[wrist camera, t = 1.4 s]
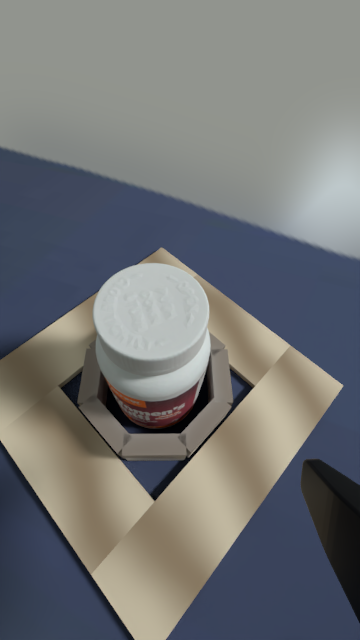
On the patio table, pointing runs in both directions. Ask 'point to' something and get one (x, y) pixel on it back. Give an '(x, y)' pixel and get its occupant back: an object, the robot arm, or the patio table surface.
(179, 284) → the pill bottle
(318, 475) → the robot arm
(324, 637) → the patio table surface
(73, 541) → the collar plate
